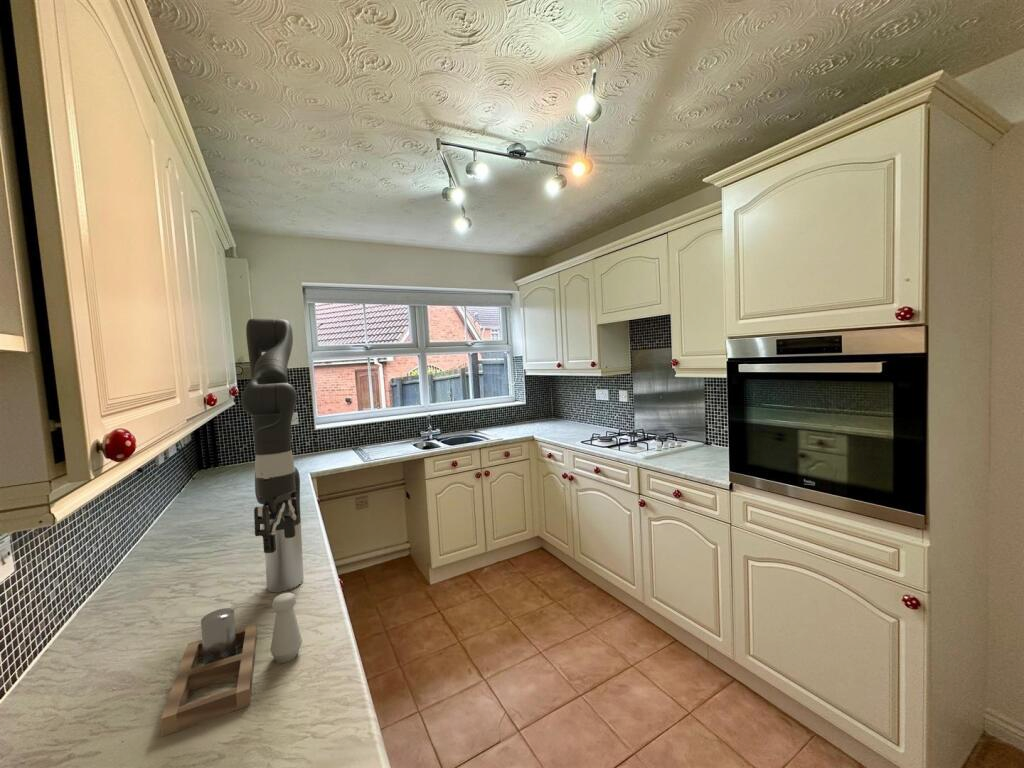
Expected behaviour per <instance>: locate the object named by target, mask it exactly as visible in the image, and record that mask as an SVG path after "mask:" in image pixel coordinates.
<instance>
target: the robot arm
mask: <svg viewBox="0 0 1024 768" xmlns="http://www.w3.org/2000/svg"><path fill="white" fill-rule="evenodd" d="M245 331H246V333H245V335H246V345H247V352H248V354H247V355H248V360H249V361H248V362H249V369H250V370H249V371H250V381H249V382H248V383H247V384H246V385H245V388H244V390H243V391H242V394H241V408H242V409H243V411H244V412H245V413H246V414H248V415H250V416H251V418H252V427H253V437H254V459H255V460H254V492H255V493H254V494H255V498H256V501H257V503H258V504H259V505H262V506H256V507H254V508H253V513H254V514H253V515H254V516H253V517H254V519H253V520H254V536H255V537H262V542H263V552H264V557H265V558H264V559H265V577H266V578H265V579H266V589H267V591H268V592H271V593H283V592H287V591H289V589H290V590H292V588H293V589H295V588H297V587H299V586H300V585H301V584H302V583H303V582H304V580H305V579H304V557H303V535H302V522H301V521H302V519H301V479H300V478H301V476H300V472H299V470H298V468H297V467H295V462H294V456H293V455H294V454H293V450H292V437H291V436H292V435H291V431H292V430H291V429H292V422H293V421H292V420H293V416H294V412H295V407H296V404H297V398H298V394H297V391H296V389H295V387H294V386H293V385H292V384H290V383H288V365H289V361H290V358H291V354H292V349H293V341H294V338H293V337H294V336H293V327H292V325H291V323H290V322H289V320H286V319H282V318H250V319H248V321H247V323H246V328H245ZM262 353H263V354H262ZM303 579H304V580H303ZM302 581H303V582H302ZM301 582H302V583H301ZM300 583H301V584H300ZM299 584H300V585H299ZM298 585H299V586H298ZM296 586H297V587H296ZM294 587H295V588H294ZM286 590H287V591H286ZM282 591H283V592H282Z"/></svg>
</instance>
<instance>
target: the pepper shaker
mask: <svg viewBox="0 0 1024 768" xmlns="http://www.w3.org/2000/svg"><path fill="white" fill-rule="evenodd" d="M235 622H236V621H235V609H234V608H229V607H228V608H227V607H224V608H220V609H216V610H214V611H211V612H209V613H207V614H206V615H205V616H203V617H202V619H200V626H201V627H200V629H201V640H202V648H203V657H202V661H203V663H202V665H206V664H209V663H212V662H216V661H219V660H222V659H225V658H229V657H232V656H235V655H238V654H237V647H236V635H235V630H236V623H235Z"/></svg>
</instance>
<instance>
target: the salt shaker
mask: <svg viewBox="0 0 1024 768" xmlns="http://www.w3.org/2000/svg"><path fill="white" fill-rule="evenodd" d="M295 595H296V594H294V593H292V592H284V593H283V592H282V593H281V594H278V595H277V596H275V597H274V599H273V600H272V604H271V606H272V609H273V612H276V613H275V619H274V624H273V625H274V626H273V632H272V638H271V645H270V652H271V656H272V657H273V660H274V661H275V662H276V663H281V664H285V663H288V662H290V661H293V660H295V658H296V656H297V655H298V654H299V651H300V649H301V646H302V643H303V640H302V639H303V638H302V634H301V632H300V627H299V625H298V620H297V616H296V613H295V609H294V606H295V605H296V603H297V602H296V601H297V599H296V596H295Z"/></svg>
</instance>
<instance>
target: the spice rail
mask: <svg viewBox="0 0 1024 768" xmlns="http://www.w3.org/2000/svg"><path fill="white" fill-rule="evenodd" d="M257 628H258V627H257V624H252V625H249V626H246V627H242V628H239V629H235V635H236V648H238V647H241V646H242V651H241V653H238V654H237V655H235V656H232V657H229V658H225V659H222V660H219V661H216V662H212V663H209V664H206V665H204V664H202V665H200V666H199V665H198V664H199V660H200V659H201V658H202V659H203V648H202V639H200V640H195V641H191V642H189V643H187V644H186V645H187V646H186V648H185V652H184V654H183V657H182V660H181V662H180V665H179V667H178V670H177V673H176V676H175V678H174V681H173V684H172V687H171V689H170V693H169V696H168V698H167V701H166V704H165V706H164V710H163V712H162V715H161V718H160V724H161V736H162V737H164V736H167V735H169V734H173V733H176V732H178V731H182V730H184V729H186V728H189V727H193V726H194V725H197V724H200V723H203V722H206V721H209V720H212V719H215V718H217V717H219V716H223V715H226V714H229V713H230V712H231V713H232V712H234V711H237V710H239V709H242V708H245V707H249V706H251V701H252V694H253V693H252V691H253V690H252V689H253V681H254V671H255V663H256V662H255V661H256V651H257V643H258V631H257V630H258V629H257ZM236 676H238V678H237V685H236V687H233V688H231V689H228V690H227V689H226V690H225V691H221V692H218V693H215V694H213V695H209V696H207V697H204V698H201V699H198V700H195V701H192V702H190V703H187V700H188V697H189V694H190V691H194V690H197V689H201V688H204V687H206V686H209V685H213V684H215V683H218V682H222V681H225V680H227V679H231V678H234V677H236ZM186 703H187V704H186Z"/></svg>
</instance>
